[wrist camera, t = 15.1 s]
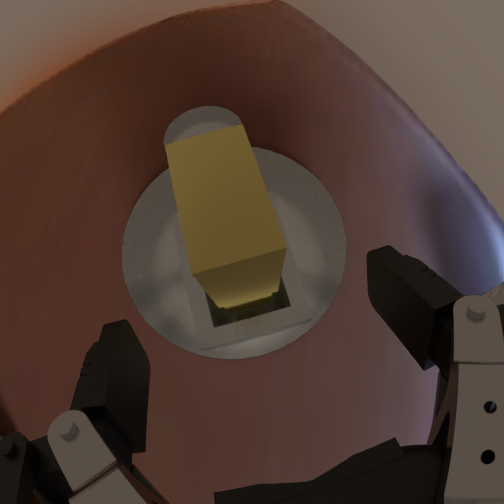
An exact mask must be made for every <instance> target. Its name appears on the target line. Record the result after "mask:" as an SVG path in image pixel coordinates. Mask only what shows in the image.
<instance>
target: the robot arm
mask: <svg viewBox="0 0 504 504" xmlns="http://www.w3.org/2000/svg"><path fill="white" fill-rule="evenodd" d="M367 281H368V295H369V299H370V302H371V304H372V306H373V308H374V309H375V310H376V311H377V313H378V314H379V315H380V316H381V317H382V319H383V320H384V321H385V322H386V324H387V325H388V326H389V327H390V329H391V330H392V331H393V332H394V333H395V335H396V336H397V337H398V338H399V340H400V341H401V342H402V343H403V345H404V346H405V347H406V349H407V350H408V351H409V352H410V354H411V355H412V356H413V357H414V359H415V360H416V361H417V363H418V364H419V365H420V366H421V368H422V369H423V370H424V371H425V370H427V369H429V368H430V367H432V366H434V365H437V367H438V368H439V369H440V370H439V373H438V380H437V390H436V399H435V407H434V414H433V421H432V426H431V431H430V434H429V437H428V441H427V445H409V446H402V447H400V445H399V444H398V442H397V440H396V438H395V437H394V438H392V439H390V440H388V441H386V442H383V443H381V444H379V445H377V446H374V447H372V448H370V449H367V450H365V451H362V452H360V453H357V454H355V455H353V456H351V457H350V458H348V459H347V460H345V461H343V462H342V463H340V464H339V465H337V466H336V467H334V468H332V469H331V470H329V471H327V472H326V473H324V474H322V475H321V476H319V477H317V478H316V479H314V480H311V481H308V482H297V483H277V484H256V485H252V486H247V487H242V488H237V489H232V490H227V491H221V492H215V493H214V499H215V504H504V304H501V305H495V304H494V303H493V302H492V301H491V300H489V299H487V298H485V297H482V296H478V295H469V296H463V295H462V294H461V293H459V292H458V291H457V290H456V289H455V288H454V287H452V286H451V285H450V284H449V283H448V282H446V281H445V280H444V279H443V278H441V277H440V276H439V275H438V276H437V273H435V272H434V271H433V270H432V269H429V267H428V266H427V265H425V264H424V263H423V262H422V261H420V260H419V259H416V258H413V257H411V256H408V255H404V256H403V255H402V254H400V253H399V252H398V251H397V250H395V249H394V248H393V247H391V246H389V245H387V246H384V247H381V248H378V249H375V250H371V251H369V252H368V253H367ZM149 381H150V364H149V360H148V357H147V354H146V353H145V351H144V349H143V347H142V345H141V344H140V342H139V340H138V338H137V336H136V334H135V332H134V331H133V329H132V327H131V325H130V323H129V322H128V321H127V320H120V321H116V322H112V323H108V324H105V325H104V326H103V329H102V332H101V335H100V338H99V341H98V342H95V343H94V344H93V345H92V347H91V348H90V349H89V351H88V352H87V353H86V356H85V359H84V362H83V368H82V369H81V372H80V377H79V379H78V382H77V386H76V389H75V393H74V396H73V400H72V404H71V408H70V411H67V412H64V413H62V414H61V415H59V416H58V417H57V418H56V419H55V420H54V421H53V422H52V424H51V425H50V428H49V430H48V435H47V436H44V437H41V438H39V439H36V440H33V441H31V442H30V441H29V440H28V439H27V438H26V437H25V436H23V435H22V434H21V433H19V432H11V433H8V434H7V435H5V436H4V437H3V438H2V439H1V440H0V504H31V500H32V493H33V492H34V493H35V494H37V495H38V496H39V497H41V499H40V504H170V503H169V502H168V501H167V500H166V499H165V498H164V497H163V496H162V495H161V494H160V493H159V492H158V491H157V490H156V489H155V488H154V486H153V485H152V484H151V483H150V482H149V481H148V480H147V479H146V478H145V476H144V475H143V474H142V473H141V472H140V471H139V469H138V468H137V467H136V466H135V465H134V464H133V463H132V453H141V452H145V449H146V426H147V409H148V394H149Z"/></svg>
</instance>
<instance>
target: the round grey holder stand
mask: <svg viewBox="0 0 504 504" xmlns="http://www.w3.org/2000/svg"><path fill="white" fill-rule="evenodd" d="M240 124H242V122H241V120H240V119H239V118H238V116H237V115H236V114H234V113H233V112H231V111H230V110H227V109H225V108H222V107H217V106H202V107H197V108H194V109H191V110H188V111H186V112H184V113H182V114H181V115H179V116H178V117H177V118H176V119H174V121H173V122H172V123H171V124H170V125H169V127H168V128H167V130H166V133H165V136H164V147H165V145H167V144H170V143H173V142H177V141H180V140H184V139H187V138H191V137H194V136H198V135H201V134H205V133H209V132H212V131H216V130H220V129H224V128H228V127H232V126H236V125H240ZM251 148H252V151H253V153H254V156H255V159H256V162H257V164H258V167H259V170H260V172H261V175H262V178H263V181H264V184H265V186H266V189H267V192H268V195H269V197H270V200H271V203H272V206H273V209H274V212H275V214H276V217H277V220H278V223H279V226H280V229H281V232H282V235H283V237H284V240H285V243H286V246H287V250H286V254H285V259H284V264H283V269H282V274H281V278H280V283H279V288H278V291H277V292H274V293H272V297H271V302H268V303H265V304H262V305H258V306H255V307H251V308H248V309H244V310H241V311H237V312H233V313H230V314H229V313H228V312H227V311H226V309H225V308H224V307H221V308H219V307H218V306H217V305H216V304H215V302H214V301H213V300H212V299H211V298H210V296H209V295H208V294H207V293H206V291H205V290H204V289H203V288H202V287H201V285H200V284H199V283H198V282H197V280H196V279H195V278H194V277H193V275H192V273H191V269H190V265H189V261H188V256H187V252H186V247H185V243H184V238H183V234H182V229H181V224H180V220H179V215H178V210H177V205H176V200H175V195H174V190H173V185H172V180H171V175H170V169H169V168H168V169H167V170H165V171H164V172H163V173H161V174H160V175H159V176H158V177H157V178H156V179H155V180H154V181H153V182H152V183H151V184H150V185H149V186H148V187H147V189H146V190H145V191H144V192H143V193H142V195H141V197H140V198H139V200H138V201H137V203H136V204H135V206H134V208H133V210H132V213H131V215H130V217H129V220H128V223H127V226H126V229H125V233H124V238H123V245H122V265H123V273H124V278H125V282H126V286H127V288H128V291H129V294H130V296H131V298H132V300H133V302H134V304H135V306H136V308H137V309H138V311H139V312H140V314H141V315H142V316H143V318H144V319H145V320H146V322H147V323H148V324H149V325H150V326H151V327H152V328H153V329H154V330H155V331H156V332H157V333H159V334H160V335H161V336H163V337H164V338H165V339H167V340H168V341H170V342H171V343H173V344H175V345H177V346H179V347H180V348H182V349H185V350H187V351H190V352H193V353H195V354H198V355H203V356H207V357H212V358H221V359H243V358H251V357H256V356H261V355H264V354H267V353H270V352H273V351H276V350H278V349H280V348H282V347H284V346H286V345H288V344H290V343H291V342H293V341H295V340H296V339H297V338H299V337H300V336H302V335H303V334H304V333H306V332H307V331H308V330H309V329H310V328H311V327H312V326H313V325H314V324H315V323H316V322H317V321H318V320H319V319H320V318H321V317H322V315H323V314H324V313H325V312H326V310H327V309H328V307H329V306H330V304H331V302H332V301H333V299H334V297H335V295H336V293H337V291H338V288H339V286H340V283H341V281H342V277H343V272H344V268H345V261H346V236H345V231H344V226H343V222H342V219H341V216H340V213H339V210H338V208H337V206H336V204H335V202H334V200H333V198H332V197H331V195H330V194H329V193H328V191H327V190H326V188H325V187H324V186H323V185H322V183H321V182H320V181H319V180H318V179H317V178H316V177H315V176H314V175H313V174H312V173H310V172H309V171H308V170H307V169H306V168H304V167H303V166H301V165H300V164H298V163H297V162H295V161H293V160H291V159H289V158H288V157H286V156H284V155H281V154H278V153H276V152H273V151H269V150H265V149H261V148H256V147H251ZM165 150H166V147H165Z"/></svg>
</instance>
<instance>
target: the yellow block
mask: <svg viewBox="0 0 504 504" xmlns="http://www.w3.org/2000/svg"><path fill="white" fill-rule="evenodd" d="M165 147H166V153H167V158H168V164H169V169H170V175H171V180H172V185H173V190H174V195H175V200H176V205H177V210H178V215H179V220H180V224H181V229H182V234H183V238H184V243H185V247H186V252H187V256H188V261H189V265H190V269H191V273H192V275H193V277H194V278H195V279H196V280H197V282H198V283H199V284H200V285H201V287H202V288H203V289H204V290H205V291H206V293H207V294H208V295H209V296H210V298H211V299H212V300H213V301H214V302H215V304H216V305H217V306H218V307H219V308H221V307H224V308H225V309H226V311H227V312H228V313H229V314H230V313H233V312H237V311H241V310H244V309H248V308H251V307H255V306H258V305H262V304H265V303H268V302H271V297H272V293H274V292H277V291H278V288H279V283H280V278H281V274H282V269H283V264H284V259H285V254H286V250H287V246H286V243H285V240H284V237H283V235H282V232H281V229H280V226H279V223H278V220H277V217H276V214H275V212H274V209H273V206H272V203H271V200H270V197H269V195H268V192H267V189H266V186H265V184H264V181H263V178H262V175H261V172H260V170H259V167H258V164H257V162H256V159H255V156H254V153H253V151H252V148H251V145H250V143H249V140H248V137H247V135H246V132H245V129H244V127H243V124H240V125H236V126H232V127H228V128H224V129H220V130H216V131H212V132H209V133H205V134H201V135H198V136H194V137H191V138H187V139H184V140H180V141H177V142H173V143H170V144H167V145H165Z"/></svg>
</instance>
